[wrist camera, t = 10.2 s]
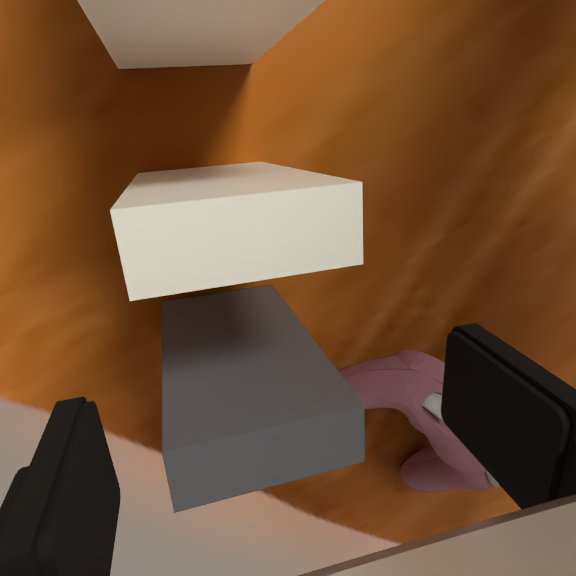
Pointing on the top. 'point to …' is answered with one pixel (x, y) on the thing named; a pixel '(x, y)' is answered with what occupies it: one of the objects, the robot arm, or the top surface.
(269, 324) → the domino
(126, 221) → the domino
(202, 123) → the top surface
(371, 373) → the video game controller
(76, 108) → the top surface
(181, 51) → the domino
